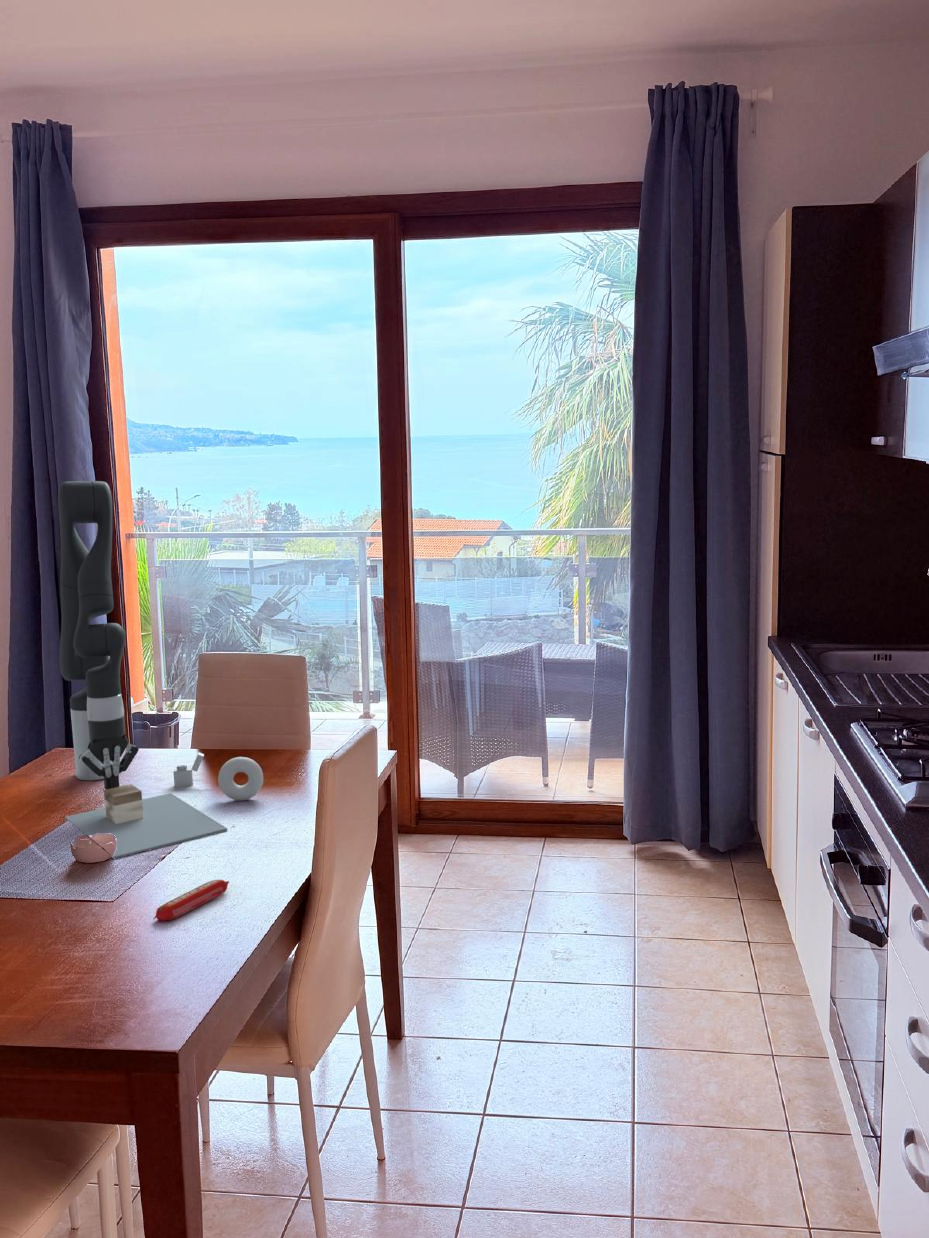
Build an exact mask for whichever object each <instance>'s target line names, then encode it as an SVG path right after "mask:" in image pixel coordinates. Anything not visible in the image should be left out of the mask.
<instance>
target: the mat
mask: <svg viewBox="0 0 929 1238" xmlns="http://www.w3.org/2000/svg"><path fill="white" fill-rule="evenodd" d="M142 805H143V818H140V819H136V820H132V821H127V822H123V823H119V824H115V823H114V822H112V821H111V820H110V819H108V818H107V817H106V810H105V807H102V808H98V809H94V810H90V811H85V812H81V813H77V814H76V813H75V814H72V815H67V816H64V818H65V819H66V820H67V821H68V822H69V823H71V824H72V825H73V826H75V827H76V828H77V829H78V830H79V831H80V832H82V834H84V836H87V835H94V834H96V833H111V834H113V835H115V836H116V838H117V850H116V852H115V854H114V855H113V859H112V860H116V858H117V859H120V858H119V857H121V858H125V857H128V856H127V855H129V856H132V854H133V855H136V854H135V853H137V854H139V853H138V852H141V853H143V852H142V851H145V852H147V851H146V850H149V849H153V850H156V849H160V848H164V847H167V846H166V845H168V846H172V845H176V844H180V843H183V842H188V841H191V840H195V839H201V838H204V837H208V836H211V835H215V834H219V833H224V832H227V831H228V828H227V827H226V826H224V825H222V824H221V823H219V822H218V821H217V820H214V819H213V818H211V817H210V816H208V815H206V814H205V813H204V812H203V811H200V810H198V809H197V808H195V807H194V806H192V805H191V804H189V803H187V802H186V801H184V800H183V799H181V798H179V797H177V795H174V794H173V793H171V792H170V793H166V794H161V795H156V796H152V797H148V798H142ZM179 842H180V843H179ZM163 846H164V847H163ZM149 851H150V850H149ZM124 856H125V857H124ZM114 858H115V859H114Z"/></svg>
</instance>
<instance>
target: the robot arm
mask: <svg viewBox="0 0 929 1238" xmlns="http://www.w3.org/2000/svg"><path fill="white" fill-rule="evenodd" d="M57 501H58V503H57V504H58V506H57V507H58V518H59V519H58V520H59V521H58V522H59V531H60V534H59V535H60V577H59V579H60V581H59V582H60V584H59V585H60V588H59V589H60V591H59V593H60V608H61V610H60V611H61V628H60V642H59V659H58V660H59V669H60V671H59V672H60V673H61V676H62V677H63V679H64V680H65V681H68V682H69V681H70V682H72V681H73V682H77V681H83V680H85V686H86V687H85V688H83V689H82V690H79V691H78V692H75V693H73V694H72V695H71V696H70V698H69V707H70V708H69V709H70V718H71V719H70V720H71V731H72V743H73V751H74V764H75V765H74V767H75V776H76V778H77V779H78V780H81V781H97V780H103V785H104V788H103V789H104V790H106V789H111V788H116V787H120V776H119V775H120V774H121V773H124V772H127V770H128V768H129V766H130V765H131V764H132V762H133V761H134V758H135V757H136V756H137V754H138V752H139V750H140V749H139V747H138V746H136V745H134V744H131V743H130V742H129V739H128V738H127V734H126V723H125V721H126V720H125V708H124V702H123V701H124V700H123V698H122V696H123V695H122V687H121V665H122V664H121V663H122V659H123V654H124V649H125V646H126V645H125V644H126V640H127V639H126V632H125V629H124V628H123V626H121V625H120V624H119V623H116V622H108V623H96V624H95V623H94V624H91V622H92V621H93V620H94V619H95V618H96V619H97V618H98V617H101V616H104V615H107V614H110V613H112V611H113V610H114V606H115V604H114V593H113V582H112V551H113V497H112V491H111V488H110V485H109V484H108V483H107V482H106V481H102V480H101V481H100V480H92V481H91V480H88V481H87V480H77V481H75V480H71V481H63V482H61V484H60V485H59V488H58V495H57ZM76 524H97V533H96V537H95V540H94V541H93V542H94V543H93V544H92V546H91V548H90V549H88V548H87V547H86V545H85V544H84V542H83V541H82V539H81V538H80V536H79V534H78V531H77V529H76V527H75V525H76ZM124 752H125V753H124ZM123 754H124V755H123ZM121 757H122V758H121Z"/></svg>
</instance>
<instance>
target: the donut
mask: <svg viewBox="0 0 929 1238" xmlns="http://www.w3.org/2000/svg"><path fill="white" fill-rule="evenodd" d="M237 773H244V774H246V775H247V778H248V780H247V782H246V783H245V784H243V785H239V784H237V783H236V782H235V780H234V777H235V775H236V774H237ZM217 782H218V787H219V788H220V790H221V792H222V794H224V795H225V796H226V797H227V798H229V799H231V800H234V801H241V802H242V801H247V800H250V799H252V798H254V797H255V796H256V795H257V794H258V793H259V792H260V791H261V788H262V786H263V785H264V773H263V770H262V768H261V766H260V765H259V764H258V763H257V762H256V761H255V760H254V759H251V758H249V757H246V756H245V757H244V756H237V757H233V758H232V757H231V759H229V760H228V761H226V762H225V763H224V764H223V765H222V766H221V767H220V770H219V772H218V779H217Z"/></svg>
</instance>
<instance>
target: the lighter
mask: <svg viewBox="0 0 929 1238" xmlns="http://www.w3.org/2000/svg"><path fill="white" fill-rule="evenodd" d="M204 756H205V754H204V753H202V752H198V753H197V755H196V758H195V760H194V763H193V765H192V767H188V765H187V764H179V765H177V766H176V768H175V769H173V771H172V772H173V782H174V783H173V785H174V786H173V787H174V788H180V787H194V777H193V772H198V770H199V768H200V766H201V764H202V761H203V759H204V758H205V757H204Z"/></svg>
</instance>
